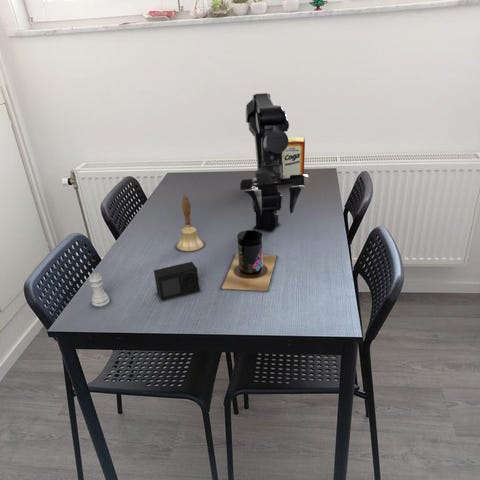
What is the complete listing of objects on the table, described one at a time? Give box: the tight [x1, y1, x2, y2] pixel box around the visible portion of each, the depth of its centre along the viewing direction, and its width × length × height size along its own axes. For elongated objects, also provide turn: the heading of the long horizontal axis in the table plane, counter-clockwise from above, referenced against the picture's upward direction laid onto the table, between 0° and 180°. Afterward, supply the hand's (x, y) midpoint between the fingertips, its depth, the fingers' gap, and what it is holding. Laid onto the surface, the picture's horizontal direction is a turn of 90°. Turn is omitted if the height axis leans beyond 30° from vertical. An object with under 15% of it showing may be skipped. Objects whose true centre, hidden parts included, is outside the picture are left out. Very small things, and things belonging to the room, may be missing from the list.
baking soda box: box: [279, 137, 306, 182], centre depth 195 cm, size 10×6×16 cm
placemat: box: [221, 253, 277, 292], centre depth 134 cm, size 20×12×1 cm, turn 170°
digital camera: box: [153, 261, 200, 301], centre depth 124 cm, size 10×5×7 cm, turn 113°
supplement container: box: [236, 229, 264, 275], centre depth 131 cm, size 7×7×10 cm
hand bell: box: [176, 195, 204, 252], centre depth 145 cm, size 8×8×16 cm
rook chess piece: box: [88, 272, 111, 308], centre depth 121 cm, size 4×4×8 cm
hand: (275, 214), depth 136 cm, fingers open, 9 cm apart
